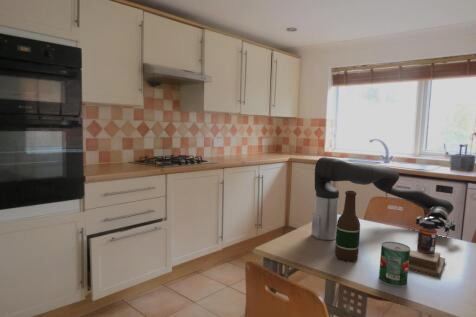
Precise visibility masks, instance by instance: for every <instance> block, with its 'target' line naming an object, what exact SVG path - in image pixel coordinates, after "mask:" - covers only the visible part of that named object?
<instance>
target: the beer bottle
mask: <svg viewBox="0 0 476 317" xmlns="http://www.w3.org/2000/svg"><path fill="white" fill-rule="evenodd" d="M344 194H345V200H344V207H343V211H342V214H340V216H339V217H338V218H337V229H336V238H335V247H334V256H335V258H336V259H337V260H339V261H342V262H345V263H355V262H356V261H357V260H358V259H359V249H360V248H359V247H360V237H361V236H360V235H361V224H360V223H361V222H360V220H359V217H358V216H357V214H356V197H357V192H356V191H354V190H346V191H345V192H344Z"/></svg>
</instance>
